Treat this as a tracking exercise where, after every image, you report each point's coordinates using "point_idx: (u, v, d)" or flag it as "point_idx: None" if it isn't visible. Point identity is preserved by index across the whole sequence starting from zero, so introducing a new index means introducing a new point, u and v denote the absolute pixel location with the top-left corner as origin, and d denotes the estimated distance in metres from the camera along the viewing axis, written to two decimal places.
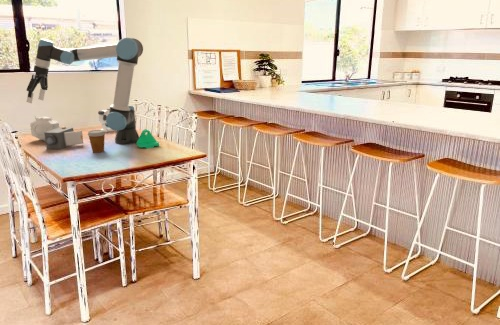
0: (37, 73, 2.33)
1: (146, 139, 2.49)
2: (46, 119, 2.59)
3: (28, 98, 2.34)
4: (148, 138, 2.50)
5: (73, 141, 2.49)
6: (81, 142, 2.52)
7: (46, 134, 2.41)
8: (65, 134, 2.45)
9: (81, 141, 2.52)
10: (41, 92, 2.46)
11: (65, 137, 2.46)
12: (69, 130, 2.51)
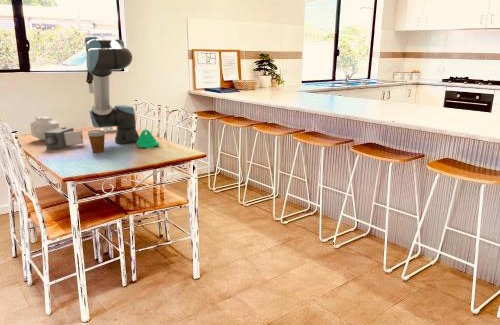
0: None
1: (146, 139, 2.49)
2: (46, 119, 2.59)
3: None
4: (148, 138, 2.50)
5: (73, 141, 2.49)
6: (81, 142, 2.52)
7: (46, 134, 2.41)
8: (65, 134, 2.45)
9: (81, 141, 2.52)
10: None
11: (65, 137, 2.46)
12: (69, 130, 2.51)
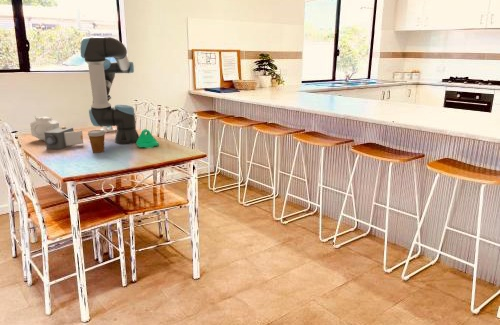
0: None
1: (146, 139, 2.50)
2: (46, 119, 2.59)
3: None
4: (148, 138, 2.50)
5: (73, 141, 2.49)
6: (81, 142, 2.52)
7: (46, 134, 2.41)
8: (65, 134, 2.45)
9: (81, 141, 2.52)
10: None
11: (65, 137, 2.46)
12: (69, 130, 2.51)
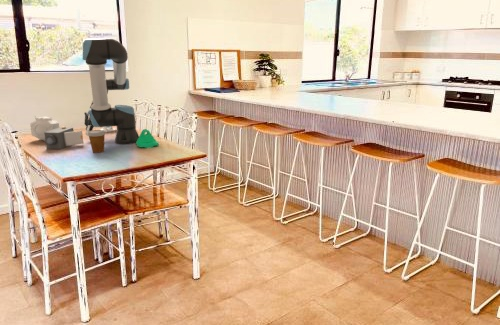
0: None
1: (146, 139, 2.50)
2: (46, 119, 2.59)
3: None
4: (148, 138, 2.50)
5: (73, 141, 2.49)
6: (81, 142, 2.52)
7: (46, 134, 2.41)
8: (65, 134, 2.45)
9: (81, 141, 2.52)
10: None
11: (65, 137, 2.46)
12: (69, 130, 2.51)
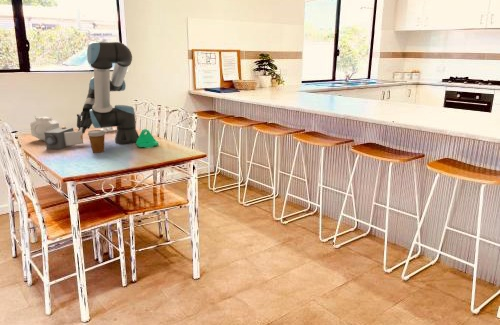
0: (81, 112, 2.62)
1: (145, 139, 2.50)
2: (46, 119, 2.59)
3: None
4: (147, 138, 2.51)
5: (73, 141, 2.49)
6: (81, 142, 2.52)
7: (46, 134, 2.41)
8: (65, 134, 2.45)
9: (81, 141, 2.52)
10: None
11: (65, 137, 2.46)
12: (69, 130, 2.51)
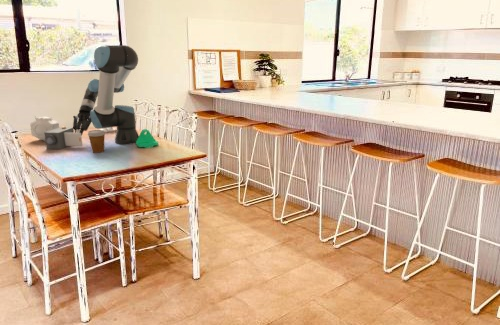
0: None
1: (145, 138, 2.50)
2: (46, 119, 2.59)
3: None
4: (147, 138, 2.51)
5: (72, 143, 2.46)
6: (79, 144, 2.46)
7: (46, 134, 2.41)
8: (64, 134, 2.45)
9: (79, 143, 2.46)
10: None
11: (65, 137, 2.45)
12: (69, 130, 2.51)
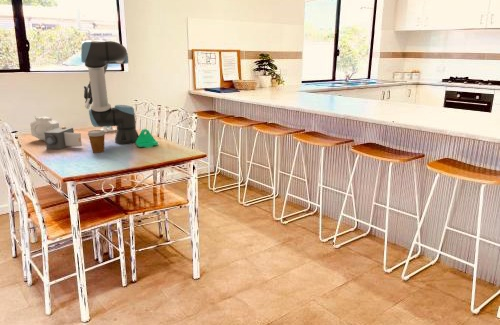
0: (88, 84, 2.68)
1: (145, 138, 2.51)
2: (46, 119, 2.59)
3: None
4: (147, 137, 2.51)
5: (72, 143, 2.46)
6: (79, 145, 2.45)
7: (46, 134, 2.41)
8: (64, 134, 2.45)
9: (79, 144, 2.45)
10: None
11: (64, 137, 2.45)
12: (69, 130, 2.51)
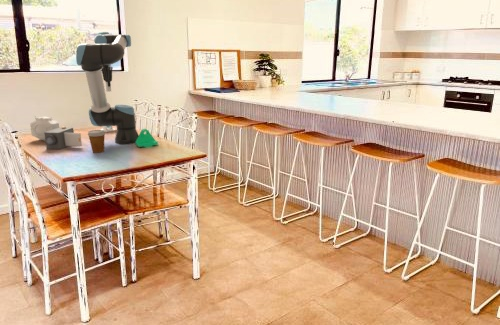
0: None
1: (145, 138, 2.51)
2: (46, 119, 2.59)
3: None
4: (147, 137, 2.52)
5: (72, 143, 2.46)
6: (79, 145, 2.45)
7: (46, 134, 2.41)
8: (64, 134, 2.45)
9: (79, 144, 2.45)
10: None
11: (64, 137, 2.45)
12: (69, 130, 2.51)
